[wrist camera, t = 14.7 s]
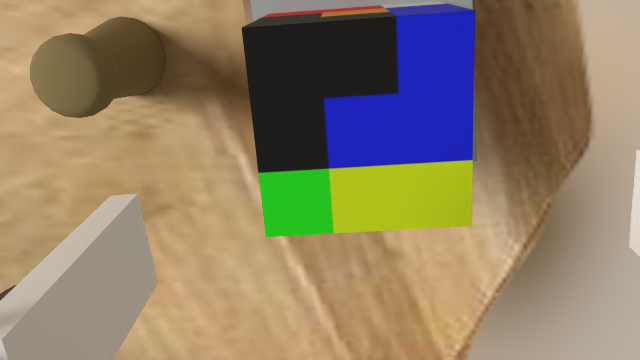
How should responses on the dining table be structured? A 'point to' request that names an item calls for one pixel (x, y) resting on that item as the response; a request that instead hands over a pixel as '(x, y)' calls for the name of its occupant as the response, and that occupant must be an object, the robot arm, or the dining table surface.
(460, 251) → the dining table surface
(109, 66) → the cork
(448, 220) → the puzzle toy
